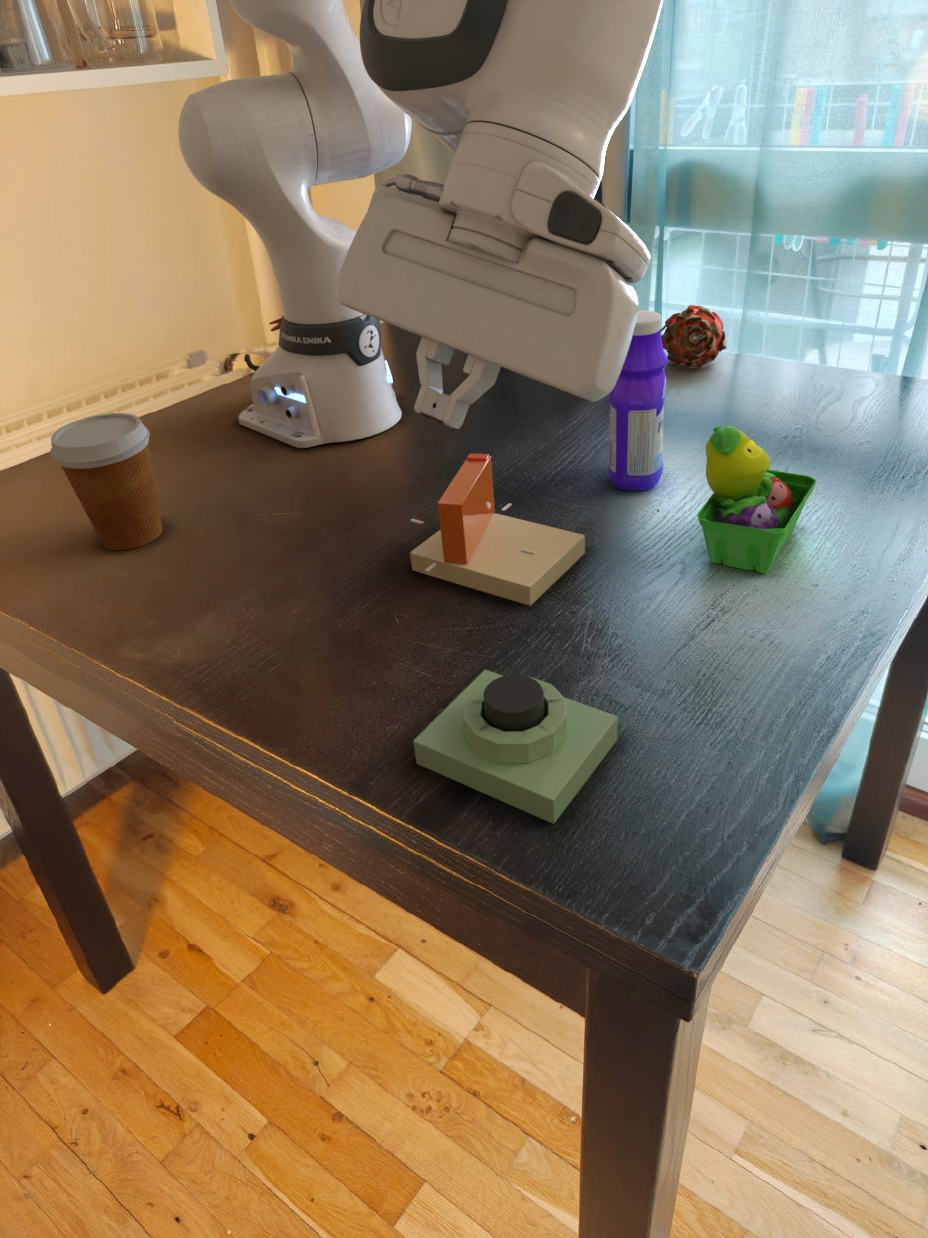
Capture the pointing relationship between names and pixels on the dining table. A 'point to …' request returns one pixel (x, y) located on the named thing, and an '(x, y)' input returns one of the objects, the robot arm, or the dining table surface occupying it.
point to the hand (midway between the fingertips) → (436, 420)
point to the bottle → (639, 409)
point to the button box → (519, 750)
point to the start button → (514, 703)
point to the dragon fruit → (693, 337)
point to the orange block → (466, 508)
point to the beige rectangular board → (506, 558)
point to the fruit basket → (748, 502)
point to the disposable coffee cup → (111, 476)
